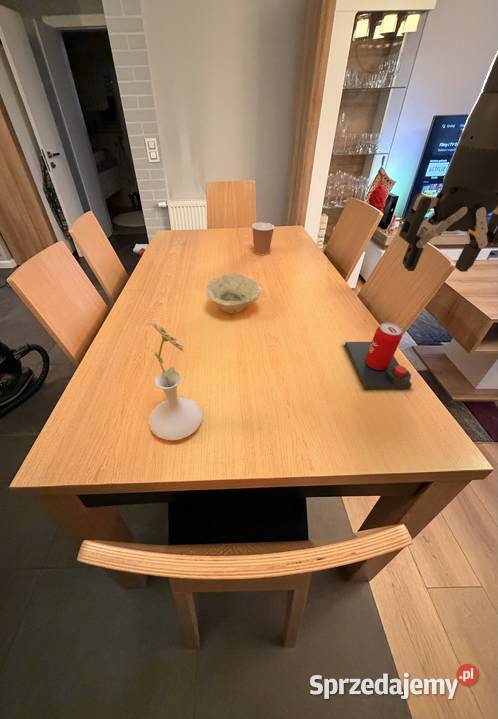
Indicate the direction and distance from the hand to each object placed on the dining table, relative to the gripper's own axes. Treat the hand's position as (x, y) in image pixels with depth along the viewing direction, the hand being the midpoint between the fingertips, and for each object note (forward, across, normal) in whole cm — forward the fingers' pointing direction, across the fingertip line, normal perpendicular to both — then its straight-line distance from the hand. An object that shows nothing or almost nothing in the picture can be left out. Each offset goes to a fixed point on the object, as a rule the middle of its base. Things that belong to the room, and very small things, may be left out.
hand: (434, 269), depth 47 cm
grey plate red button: (+36, +8, +17) cm, 41 cm away
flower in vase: (+36, -45, 0) cm, 58 cm away
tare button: (+33, +11, +10) cm, 36 cm away
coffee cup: (+36, -17, +98) cm, 106 cm away
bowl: (+36, -32, +47) cm, 68 cm away
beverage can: (+35, +7, +16) cm, 39 cm away
